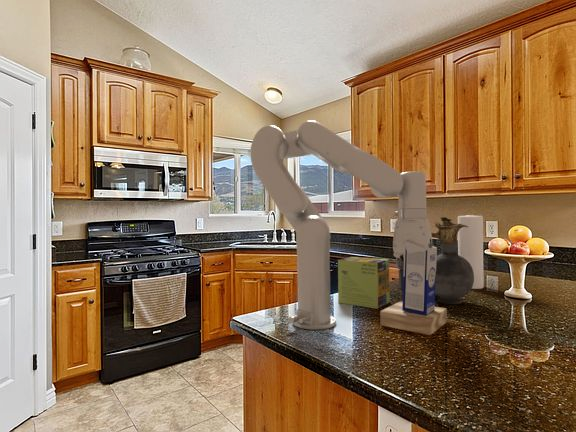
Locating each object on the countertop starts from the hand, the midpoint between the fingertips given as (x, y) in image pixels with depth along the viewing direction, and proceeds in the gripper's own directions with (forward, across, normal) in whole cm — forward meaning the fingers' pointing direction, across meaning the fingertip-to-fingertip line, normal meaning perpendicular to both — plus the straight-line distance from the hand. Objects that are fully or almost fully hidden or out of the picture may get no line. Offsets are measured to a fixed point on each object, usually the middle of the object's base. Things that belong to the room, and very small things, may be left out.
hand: (413, 278), depth 105 cm
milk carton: (+9, +2, -1) cm, 9 cm away
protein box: (+13, -23, +13) cm, 30 cm away
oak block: (+13, 0, 0) cm, 13 cm away
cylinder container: (+13, 0, +63) cm, 64 cm away
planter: (+13, -19, +47) cm, 52 cm away
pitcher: (+13, -1, +31) cm, 34 cm away
